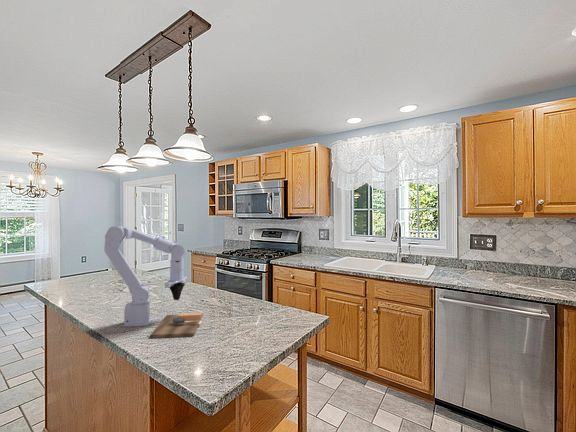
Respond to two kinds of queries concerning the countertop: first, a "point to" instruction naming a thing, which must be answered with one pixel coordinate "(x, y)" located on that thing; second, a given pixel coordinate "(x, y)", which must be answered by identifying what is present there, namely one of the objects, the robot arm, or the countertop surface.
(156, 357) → the countertop surface
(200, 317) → the orange bar
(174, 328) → the lock board
